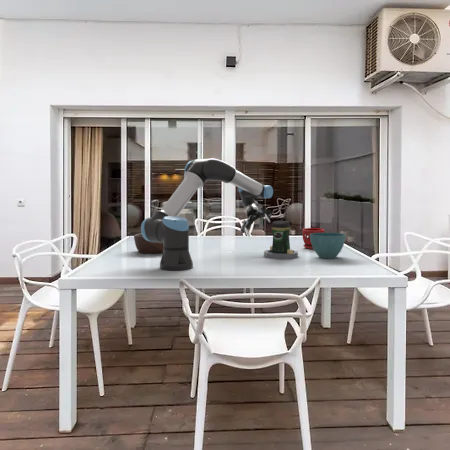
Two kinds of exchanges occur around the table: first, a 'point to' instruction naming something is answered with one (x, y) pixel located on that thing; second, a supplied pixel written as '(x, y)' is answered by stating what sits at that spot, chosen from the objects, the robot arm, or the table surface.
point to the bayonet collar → (289, 254)
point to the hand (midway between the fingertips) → (258, 227)
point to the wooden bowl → (147, 245)
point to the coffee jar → (280, 237)
